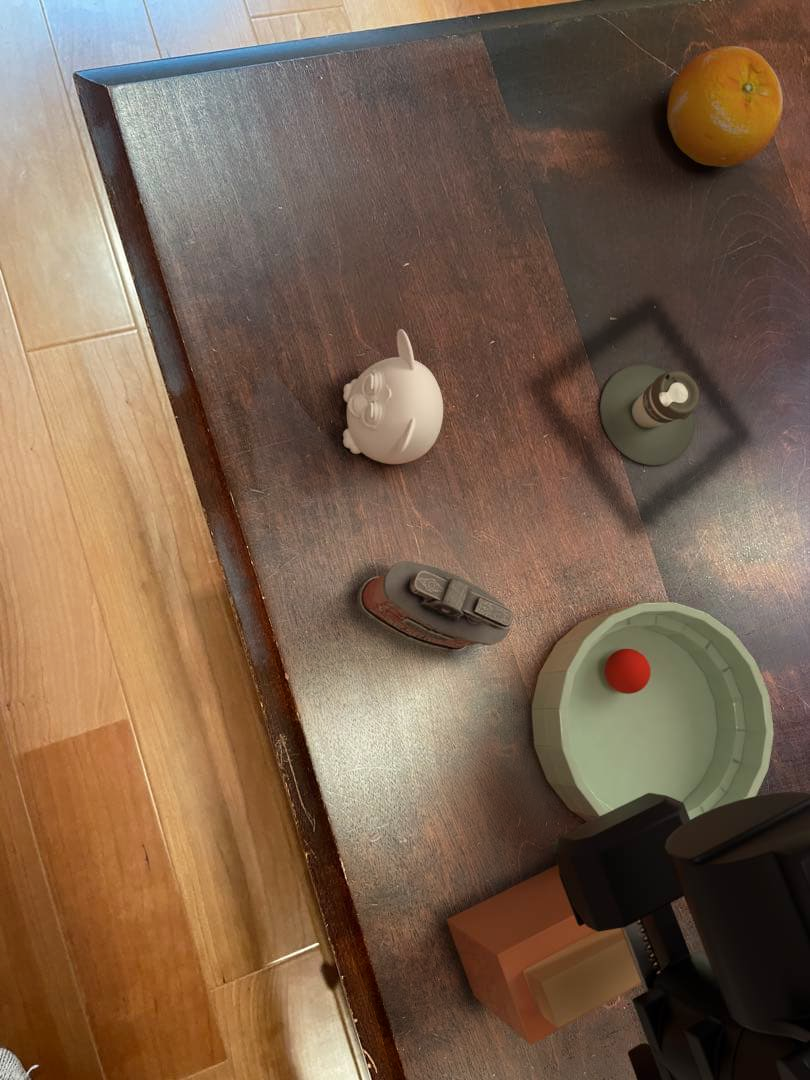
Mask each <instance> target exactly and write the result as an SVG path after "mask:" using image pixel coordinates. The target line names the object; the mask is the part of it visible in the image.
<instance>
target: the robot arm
mask: <svg viewBox="0 0 810 1080" xmlns="http://www.w3.org/2000/svg"><path fill="white" fill-rule="evenodd" d="M552 854H553V857H554V859H555V862H556V865H558V867H559V869H558V873H559V877H560V879H561V882H562V885H563V887H564V890H565V893H566V895H567V898H568V900H569V903H570V906H571V908H572V911H573V914H574V916H575V919H576V922H577V924H578V925H579V926H582V925H583V924H586V926H587V927H589V928H591V929H593V930H595V931H597V932H600V931H606V930H612V929H618V928H621V930H622V933H623V935H624V938H625V941H626V943H627V946H628V949H629V951H630V954H631V956H632V959H633V962H634V964H635V967H636V969H637V972H638V975H639V977H640V980H641V983H642V984H641V986H642V987H643V988H642V989H643V991H644V992H642V993H641V994H639V995H637V996H635V997H634V998H632V999H631V1001H632V1004H633V1006H634V1009H635V1011H636V1014H637V1017H638V1020H639V1022H640V1024H641V1027H642V1030H643V1033H644V1036H645V1039H646V1040H647V1043H646V1042H642V1043H640V1044H639V1043H638V1045H636V1046H634V1047H633V1048H631V1049H629V1050H628V1052H627V1056H628V1059H629V1061H630V1064H631V1067H632V1069H633V1072H634V1074H635V1078H636V1080H810V793H808V792H803V791H802V792H801V791H785V792H783V791H782V792H773V793H771V792H770V793H766V794H761V795H756V796H754V797H750V798H746V799H742V800H738V801H735V802H732V803H729V804H726V805H722V806H719V807H717V808H715V809H712V810H710V811H707V812H705V813H703V814H700V815H698V816H696V817H694V818H693V819H691V820H690V818H689V816H688V813H687V811H686V808H685V805H684V803H683V802H681V801H678V800H676V799H674V798H671V797H669V796H666V795H660V794H654V793H647V794H645V795H643V796H641V797H639V798H637V799H635V800H633V801H630V802H628V803H626V804H624V805H622V806H620V807H618V808H616V809H614V810H612V811H610V812H608V813H606V814H604V815H602V816H599V817H597V818H595V819H593V820H591V821H589V822H587V821H586V822H584V823H583V824H581V825H579V826H577V827H575V828H573V829H571V830H568V831H565V833H563V834H561V835H559V836H558V837H557V840H556V843H555V846H554V849H553V851H552ZM683 897H684V900H685V903H686V906H687V908H688V910H689V913H690V916H691V918H692V921H693V924H694V926H695V929H696V932H697V934H698V937H699V939H700V942H701V945H702V947H703V949H704V951H694V952H693V951H692V952H690V950H689V947H688V944H687V941H686V939H685V936H684V934H683V932H682V929H681V927H680V924H679V921H678V919H677V916H676V914H675V911H674V908H673V906H672V903H674V902H676V901H677V900H679V899H681V898H683ZM639 920H640V922H638V921H639ZM642 928H643V930H644V931H641V930H642ZM645 937H646V938H647V939H644V938H645ZM649 945H650V948H647V947H648V946H649ZM652 954H653V956H651V955H652ZM655 963H656V965H654V964H655ZM659 971H660V973H658V972H659Z"/></svg>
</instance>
